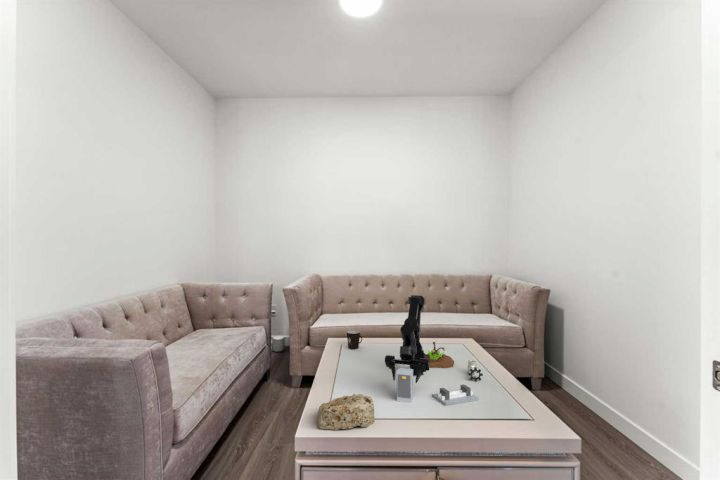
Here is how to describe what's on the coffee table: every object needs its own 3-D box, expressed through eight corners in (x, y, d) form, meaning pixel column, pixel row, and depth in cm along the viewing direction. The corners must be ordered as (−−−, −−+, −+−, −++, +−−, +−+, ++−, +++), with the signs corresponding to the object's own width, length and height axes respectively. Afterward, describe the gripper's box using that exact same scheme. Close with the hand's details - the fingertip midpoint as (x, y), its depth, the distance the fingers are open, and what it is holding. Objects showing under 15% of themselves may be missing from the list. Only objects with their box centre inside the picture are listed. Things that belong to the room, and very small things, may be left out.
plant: (451, 358, 209) (450, 338, 209) (456, 369, 190) (456, 347, 190) (415, 357, 211) (415, 337, 212) (417, 368, 192) (417, 346, 192)
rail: (445, 406, 145) (445, 395, 145) (432, 396, 154) (432, 386, 154) (478, 400, 150) (478, 389, 150) (463, 391, 160) (463, 381, 160)
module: (399, 396, 154) (398, 367, 154) (413, 398, 152) (413, 369, 153) (396, 401, 149) (396, 372, 149) (411, 403, 147) (411, 373, 147)
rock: (318, 437, 123) (315, 405, 125) (319, 427, 137) (317, 398, 139) (378, 427, 125) (374, 396, 127) (373, 418, 139) (370, 390, 141)
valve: (464, 372, 184) (468, 381, 172) (464, 359, 184) (468, 367, 172) (477, 373, 183) (483, 382, 171) (477, 360, 183) (482, 368, 171)
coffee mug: (344, 346, 232) (345, 331, 233) (357, 345, 235) (357, 330, 235) (349, 351, 221) (349, 335, 222) (363, 350, 224) (363, 334, 224)
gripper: (385, 336, 159) (379, 370, 148) (428, 339, 154) (426, 374, 143) (389, 350, 166) (383, 382, 155) (430, 353, 161) (428, 387, 150)
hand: (404, 381), depth 150 cm, fingers open, 9 cm apart
